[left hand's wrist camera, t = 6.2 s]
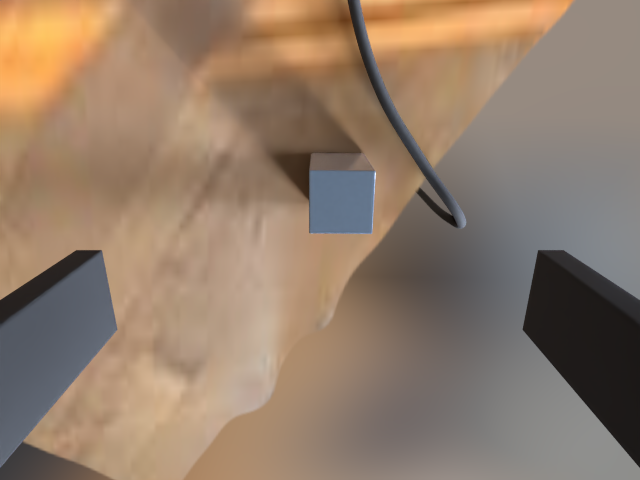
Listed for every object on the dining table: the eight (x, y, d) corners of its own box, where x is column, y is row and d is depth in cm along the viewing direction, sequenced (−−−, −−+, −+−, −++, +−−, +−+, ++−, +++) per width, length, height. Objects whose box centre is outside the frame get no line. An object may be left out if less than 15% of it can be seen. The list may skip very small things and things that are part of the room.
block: (363, 153, 37) (375, 170, 29) (361, 204, 38) (372, 234, 31) (311, 152, 37) (309, 170, 29) (311, 203, 38) (309, 233, 31)
